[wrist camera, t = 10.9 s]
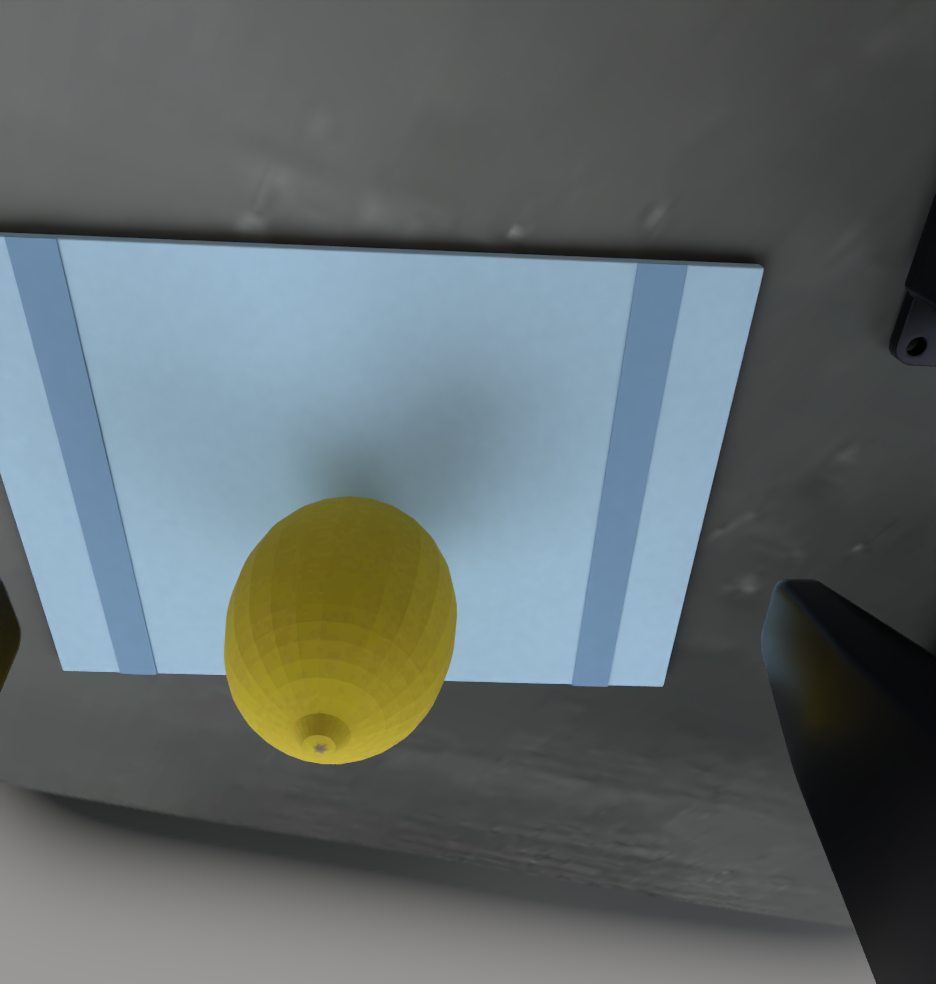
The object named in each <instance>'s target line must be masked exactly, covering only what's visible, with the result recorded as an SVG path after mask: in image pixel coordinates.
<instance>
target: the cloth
mask: <svg viewBox="0 0 936 984" xmlns="http://www.w3.org/2000/svg"><path fill="white" fill-rule="evenodd" d="M763 272H764V268H763V267H762V266H761V265H759V264H744V263H720V262H696V261H673V260H649V259H625V258H601V257H577V256H553V255H529V254H505V253H482V252H458V251H434V250H410V249H386V248H362V247H338V246H314V245H291V244H267V243H243V242H219V241H195V240H171V239H147V238H124V237H100V236H76V235H52V234H28V233H4V232H0V473H1V476H2V480H3V483H4V486H5V489H6V492H7V495H8V498H9V502H10V505H11V508H12V511H13V514H14V517H15V520H16V524H17V527H18V530H19V533H20V536H21V539H22V542H23V546H24V549H25V552H26V555H27V558H28V561H29V564H30V568H31V571H32V574H33V577H34V580H35V583H36V586H37V590H38V593H39V596H40V599H41V602H42V605H43V609H44V612H45V615H46V618H47V621H48V624H49V627H50V631H51V634H52V637H53V640H54V643H55V646H56V649H57V653H58V656H59V659H60V662H61V665H62V668H63V670H64V671H100V672H120V674H151V675H157V673H175V674H213V675H226V671H225V665H224V642H225V626H226V616H227V609H228V605H229V600H230V597H231V594H232V591H233V589H234V586H235V584H236V582H237V579H238V577H239V574H240V572H241V570H242V567H243V565H244V563H245V561H246V559H247V558H248V556H249V555H250V553H251V552H252V550H253V549H254V548H255V547H256V545H257V544H258V543H259V542H260V541H261V539H262V538H263V537H264V536H265V535H266V534H267V533H268V531H269V530H270V529H271V528H272V527H273V526H274V525H275V524H276V523H277V522H279V521H280V520H282V519H283V518H285V517H287V516H288V515H290V514H291V513H293V512H294V511H296V510H298V509H299V508H301V507H303V506H306V505H308V504H311V503H314V502H317V501H320V500H323V499H327V498H336V497H346V496H354V497H362V498H371V499H375V500H378V501H380V502H383V503H386V504H389V505H392V506H394V507H396V508H397V509H399V510H401V511H402V512H404V513H406V514H407V515H409V516H411V517H412V518H414V519H415V520H416V521H417V522H418V523H419V524H420V525H421V526H422V527H423V528H424V529H425V530H426V531H427V532H428V533H429V534H430V535H431V537H432V538H433V539H434V541H435V543H436V544H437V546H438V548H439V550H440V551H441V553H442V555H443V557H444V558H445V560H446V563H447V565H448V567H449V571H450V575H451V579H452V583H453V587H454V591H455V596H456V602H457V623H456V633H455V643H454V650H453V655H452V659H451V663H450V666H449V669H448V672H447V675H446V677H445V680H444V681H477V682H514V683H552V684H572V686H604V687H608V685H627V686H663V685H664V681H665V677H666V672H667V668H668V664H669V660H670V656H671V652H672V648H673V644H674V639H675V635H676V631H677V627H678V623H679V619H680V615H681V610H682V606H683V602H684V598H685V594H686V590H687V586H688V582H689V577H690V573H691V569H692V565H693V561H694V557H695V553H696V548H697V544H698V540H699V536H700V532H701V528H702V524H703V520H704V515H705V511H706V507H707V503H708V499H709V495H710V491H711V487H712V482H713V478H714V474H715V470H716V466H717V462H718V458H719V453H720V449H721V445H722V441H723V437H724V433H725V429H726V425H727V420H728V416H729V412H730V408H731V404H732V400H733V396H734V392H735V387H736V383H737V379H738V375H739V371H740V367H741V363H742V358H743V354H744V350H745V346H746V342H747V338H748V334H749V330H750V325H751V321H752V317H753V313H754V309H755V305H756V301H757V297H758V292H759V288H760V284H761V280H762V276H763Z"/></svg>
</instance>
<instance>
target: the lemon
mask: <svg viewBox="0 0 936 984" xmlns="http://www.w3.org/2000/svg"><path fill="white" fill-rule="evenodd" d="M456 623H457V602H456V596H455V591H454V587H453V583H452V579H451V575H450V571H449V567H448V565H447V563H446V560H445V558H444V557H443V555H442V553H441V551H440V550H439V548H438V546H437V544H436V543H435V541H434V539H433V538H432V537H431V535H430V534H429V533H428V532H427V531H426V530H425V529H424V528H423V527H422V526H421V525H420V524H419V523H418V522H417V521H416V520H415V519H414V518H412V517H411V516H409V515H407V514H406V513H404V512H402V511H401V510H399V509H397V508H396V507H394V506H392V505H389V504H386V503H383V502H380V501H378V500H375V499H371V498H362V497H354V496H346V497H336V498H327V499H323V500H320V501H317V502H314V503H311V504H308V505H306V506H303V507H301V508H299V509H298V510H296V511H294V512H293V513H291V514H290V515H288V516H287V517H285V518H283V519H282V520H280V521H279V522H277V523H276V524H275V525H274V526H273V527H272V528H271V529H270V530H269V531H268V533H267V534H266V535H265V536H264V537H263V538H262V539H261V541H260V542H259V543H258V544H257V545H256V547H255V548H254V549H253V550H252V552H251V553H250V555H249V556H248V558H247V559H246V561H245V563H244V565H243V567H242V570H241V572H240V574H239V577H238V579H237V582H236V584H235V586H234V589H233V591H232V594H231V597H230V600H229V605H228V609H227V616H226V626H225V642H224V665H225V671H226V676H227V680H228V683H229V687H230V690H231V694H232V697H233V699H234V702H235V704H236V706H237V708H238V709H239V711H240V712H241V714H242V715H243V717H244V718H245V720H246V721H247V723H248V724H249V725H250V726H251V727H252V729H253V730H254V731H255V732H256V733H258V734H259V735H260V736H261V737H262V738H263V739H264V740H265V741H266V742H267V743H269V744H271V745H272V746H274V747H275V748H277V749H279V750H281V751H282V752H284V753H286V754H287V755H290V756H293V757H296V758H298V759H301V760H304V761H309V762H315V763H320V764H343V763H349V762H355V761H359V760H364V759H366V758H369V757H372V756H374V755H377V754H380V753H382V752H384V751H386V750H387V749H389V748H391V747H392V746H394V745H395V744H397V743H398V742H400V741H401V740H403V739H404V738H406V737H407V736H408V735H409V734H410V733H411V732H412V731H413V730H414V729H415V728H416V726H417V725H418V724H419V723H420V722H421V721H422V720H423V718H424V717H425V716H426V715H427V713H428V712H429V710H430V709H431V707H432V706H433V704H434V701H435V699H436V697H437V695H438V693H439V691H440V688H441V686H442V684H443V682H444V680H445V677H446V675H447V672H448V669H449V666H450V663H451V659H452V655H453V650H454V643H455V633H456Z"/></svg>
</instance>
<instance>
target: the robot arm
mask: <svg viewBox="0 0 936 984" xmlns="http://www.w3.org/2000/svg"><path fill="white" fill-rule="evenodd" d="M905 286H906V288H907V292H906V295H905V298H904V301H903V304H902V307H901V310H900V313H899V316H898V319H897V321H896V324H895V327H894V330H893V333H892V336H891V339H890V344H889V349H890V352H891V354H892V355H893V356H894V357H895V358H896V359H898V360H899V361H900V362H902V363H903V364H907V365H914V366H936V194H935V197H934V200H933V203H932V206H931V209H930V212H929V215H928V218H927V221H926V223H925V226H924V229H923V232H922V235H921V238H920V241H919V244H918V247H917V250H916V253H915V256H914V259H913V262H912V265H911V267H910V270H909V273H908V276H907V279H906V282H905ZM917 337H919V342H918V344H917V346H916V347H914V348H913V349H911V350H908V351H907V346H908V344H909V342H910V341H911V340H913V339H914V338H917ZM20 642H21V627H20V623H19V621H18V618H17V616H16V613H15V611H14V608H13V605H12V603H11V600H10V598H9V595H8V592H7V590H6V587H5V585H4V582H3V580H2V579H1V578H0V692H1V689H2V687H3V685H4V682H5V680H6V678H7V675H8V673H9V670H10V668H11V666H12V663H13V661H14V659H15V656H16V654H17V651H18V649H19V646H20ZM761 649H762V655H763V659H764V663H765V666H766V670H767V674H768V678H769V681H770V685H771V689H772V693H773V697H774V700H775V704H776V708H777V712H778V715H779V719H780V723H781V727H782V730H783V734H784V738H785V742H786V746H787V749H788V753H789V756H790V760H791V763H792V766H793V770H794V773H795V776H796V778H797V781H798V784H799V787H800V789H801V792H802V795H803V797H804V800H805V802H806V805H807V807H808V810H809V813H810V815H811V818H812V820H813V823H814V825H815V828H816V830H817V833H818V836H819V838H820V841H821V843H822V846H823V848H824V851H825V853H826V856H827V859H828V861H829V864H830V866H831V869H832V871H833V874H834V876H835V879H836V882H837V884H838V887H839V889H840V892H841V894H842V897H843V899H844V902H845V905H846V907H847V910H848V912H849V915H850V917H851V920H852V922H853V925H854V928H855V930H856V933H857V935H858V937H859V940H860V943H861V945H862V948H863V950H864V953H865V955H866V958H867V961H868V963H869V966H870V968H871V971H872V973H873V975H874V979H875V980H876V984H936V656H935V655H934V654H932V653H930V652H929V651H927V650H926V649H924V648H923V647H921V646H919V645H918V644H916V643H915V642H913V641H912V640H910V639H908V638H907V637H905V636H904V635H902V634H901V633H899V632H897V631H896V630H894V629H893V628H891V627H890V626H888V625H886V624H885V623H883V622H882V621H880V620H879V619H877V618H875V617H874V616H872V615H871V614H869V613H868V612H866V611H864V610H863V609H861V608H860V607H858V606H857V605H855V604H853V603H852V602H850V601H849V600H847V599H846V598H844V597H842V596H841V595H839V594H838V593H836V592H835V591H833V590H831V589H830V588H828V587H827V586H825V585H824V584H822V583H820V582H819V581H816V580H812V579H783V580H781V581H779V582H778V583H777V584H776V586H775V588H774V590H773V594H772V597H771V601H770V604H769V608H768V612H767V615H766V619H765V623H764V626H763V630H762V634H761Z"/></svg>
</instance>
